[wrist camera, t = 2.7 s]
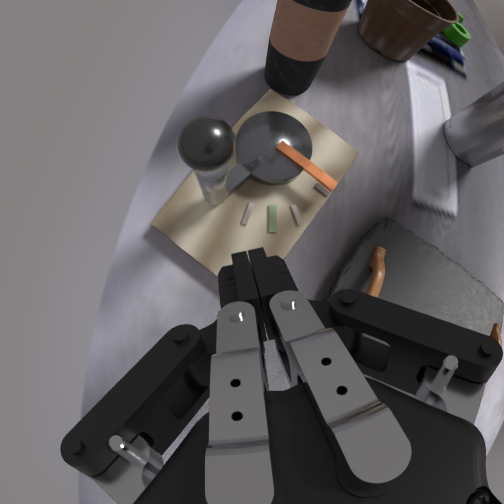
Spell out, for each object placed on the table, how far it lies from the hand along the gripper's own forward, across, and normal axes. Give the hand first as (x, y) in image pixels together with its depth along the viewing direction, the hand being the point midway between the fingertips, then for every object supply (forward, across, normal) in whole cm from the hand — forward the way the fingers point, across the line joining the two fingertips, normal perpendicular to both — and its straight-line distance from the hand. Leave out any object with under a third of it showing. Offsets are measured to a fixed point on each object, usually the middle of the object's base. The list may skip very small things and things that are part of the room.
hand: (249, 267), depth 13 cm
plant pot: (+39, -36, -19) cm, 56 cm away
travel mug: (+33, -12, -10) cm, 36 cm away
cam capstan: (+22, -5, +2) cm, 23 cm away
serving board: (+12, -25, +26) cm, 38 cm away
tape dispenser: (+47, -66, -29) cm, 86 cm away
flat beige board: (+24, -4, +4) cm, 24 cm away
